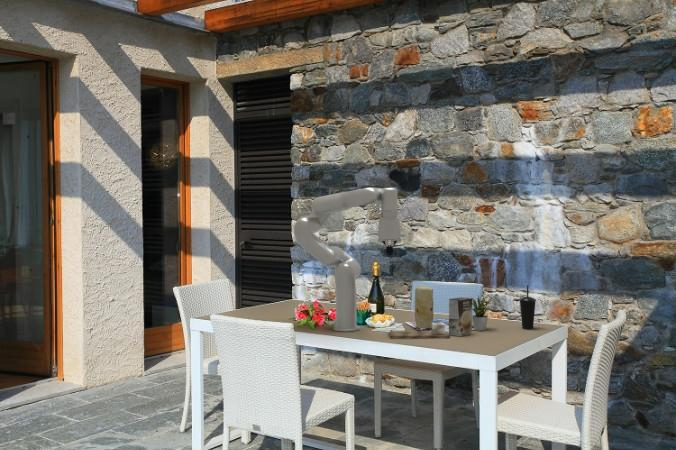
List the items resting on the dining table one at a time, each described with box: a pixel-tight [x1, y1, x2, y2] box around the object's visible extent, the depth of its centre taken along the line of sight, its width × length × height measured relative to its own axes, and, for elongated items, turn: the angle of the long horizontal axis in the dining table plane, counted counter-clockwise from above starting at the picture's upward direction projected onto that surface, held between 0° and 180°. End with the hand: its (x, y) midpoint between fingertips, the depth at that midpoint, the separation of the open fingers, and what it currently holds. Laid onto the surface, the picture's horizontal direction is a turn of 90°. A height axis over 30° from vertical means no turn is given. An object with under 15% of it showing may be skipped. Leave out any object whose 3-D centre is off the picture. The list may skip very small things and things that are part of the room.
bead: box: [431, 322, 446, 334], centre depth 324 cm, size 5×6×4 cm
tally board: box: [388, 330, 451, 340], centre depth 324 cm, size 26×10×1 cm, turn 89°
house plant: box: [470, 294, 495, 332], centre depth 338 cm, size 14×14×16 cm
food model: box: [414, 285, 434, 329], centre depth 342 cm, size 10×7×20 cm
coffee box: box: [448, 297, 473, 337], centre depth 328 cm, size 9×6×16 cm
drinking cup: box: [518, 285, 537, 330], centre depth 340 cm, size 8×8×20 cm
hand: (389, 255), depth 335 cm, fingers closed
